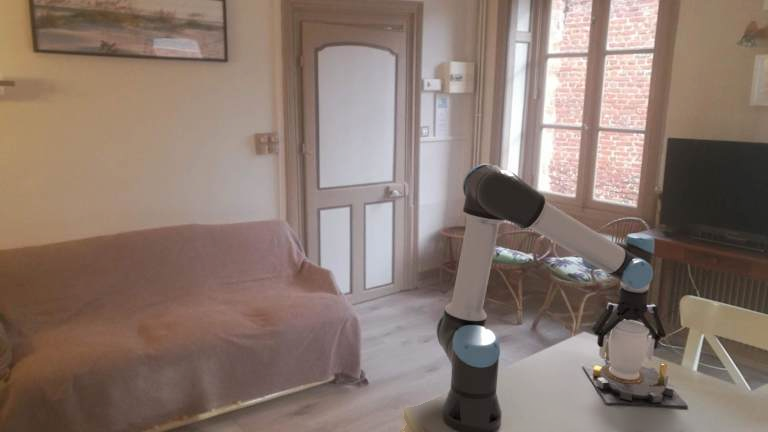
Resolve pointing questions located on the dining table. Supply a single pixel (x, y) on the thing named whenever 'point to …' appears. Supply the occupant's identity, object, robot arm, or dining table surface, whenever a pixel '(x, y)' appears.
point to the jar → (627, 349)
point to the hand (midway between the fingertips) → (625, 357)
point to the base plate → (615, 399)
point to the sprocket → (636, 383)
